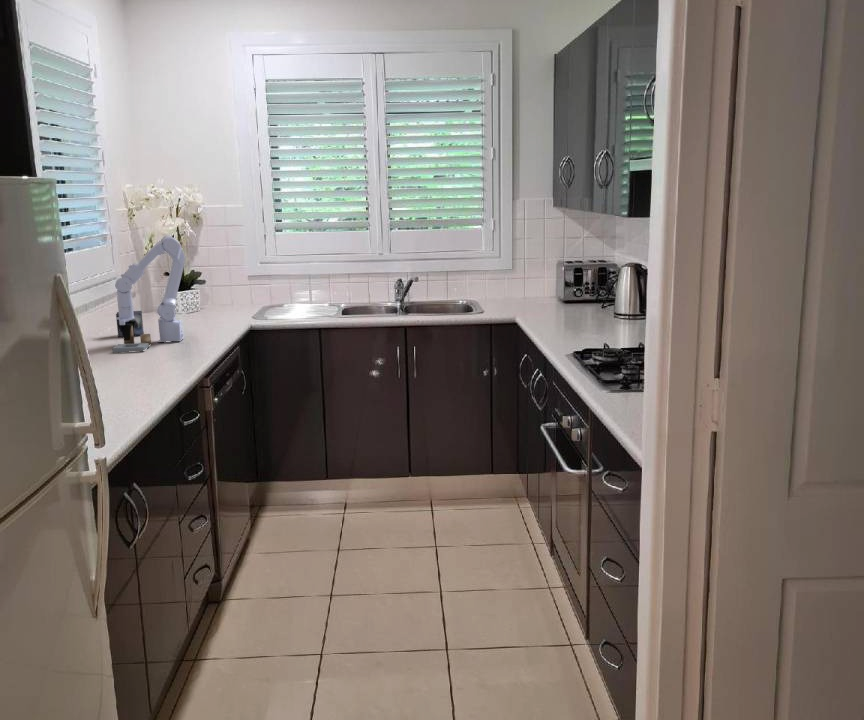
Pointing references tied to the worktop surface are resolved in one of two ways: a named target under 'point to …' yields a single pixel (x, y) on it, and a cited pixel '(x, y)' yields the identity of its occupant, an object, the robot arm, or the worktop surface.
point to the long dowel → (130, 338)
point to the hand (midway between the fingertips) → (128, 339)
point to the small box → (138, 326)
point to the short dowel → (145, 338)
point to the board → (130, 347)
